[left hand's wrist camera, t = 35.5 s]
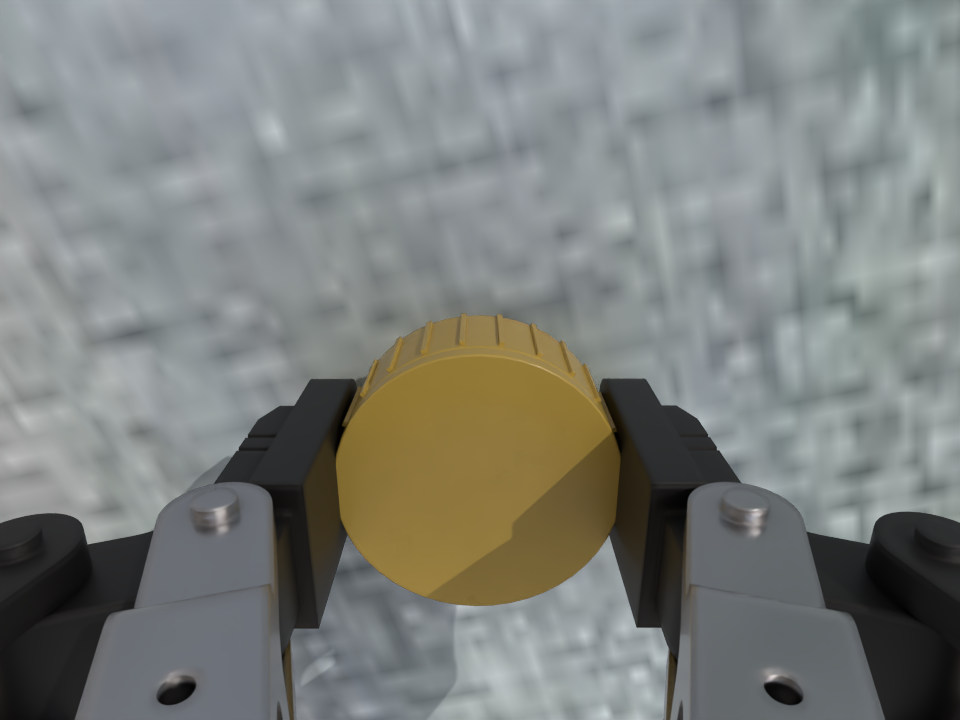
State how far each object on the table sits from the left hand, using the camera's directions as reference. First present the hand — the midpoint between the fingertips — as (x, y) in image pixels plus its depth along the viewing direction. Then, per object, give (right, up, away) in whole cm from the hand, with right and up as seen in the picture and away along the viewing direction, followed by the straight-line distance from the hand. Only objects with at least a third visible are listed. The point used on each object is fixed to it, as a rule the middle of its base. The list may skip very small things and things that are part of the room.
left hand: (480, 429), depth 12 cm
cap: (0, -1, -1) cm, 2 cm away
